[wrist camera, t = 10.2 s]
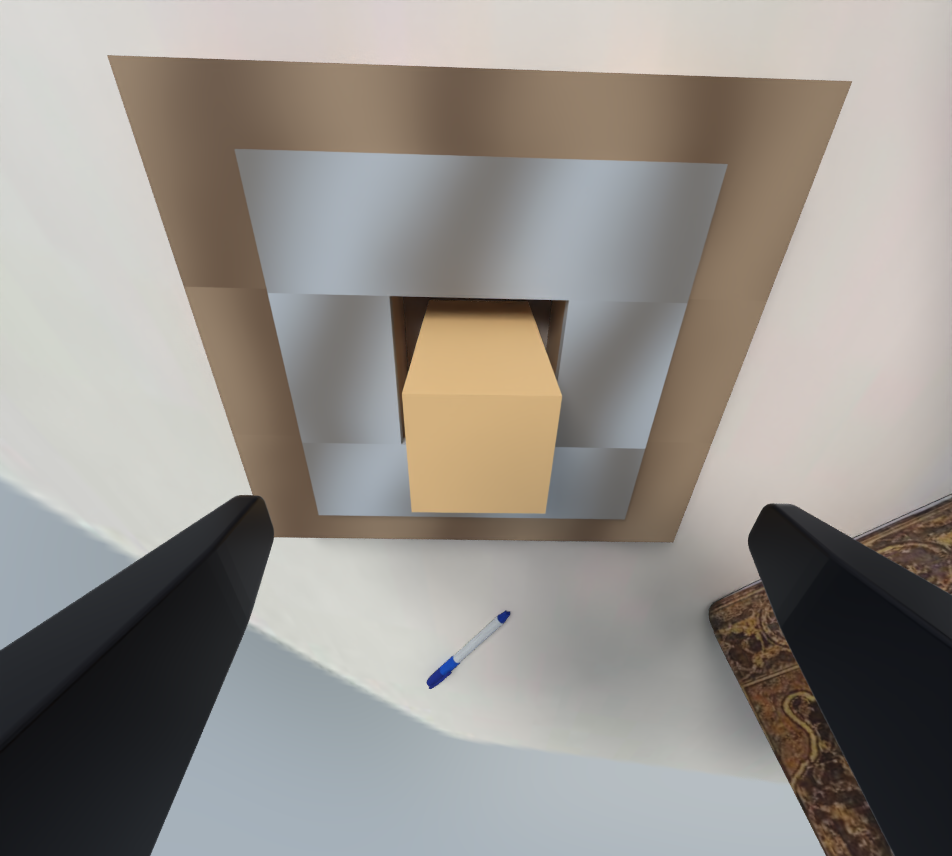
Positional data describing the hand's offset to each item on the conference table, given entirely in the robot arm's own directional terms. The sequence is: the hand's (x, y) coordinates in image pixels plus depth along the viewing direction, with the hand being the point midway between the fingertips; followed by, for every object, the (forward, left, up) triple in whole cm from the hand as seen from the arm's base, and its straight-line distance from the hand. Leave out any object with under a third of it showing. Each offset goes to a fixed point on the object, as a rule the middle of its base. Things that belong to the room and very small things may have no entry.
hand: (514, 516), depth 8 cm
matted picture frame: (+1, +2, -12) cm, 12 cm away
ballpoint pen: (+1, +24, -12) cm, 27 cm away
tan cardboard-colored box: (+1, +2, -12) cm, 12 cm away
